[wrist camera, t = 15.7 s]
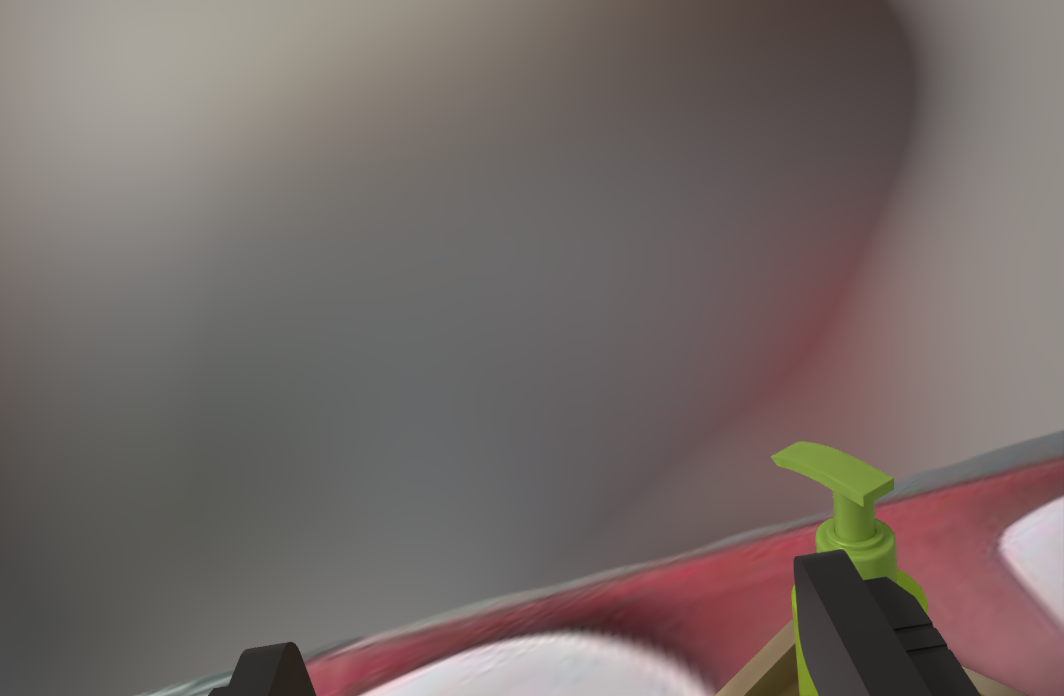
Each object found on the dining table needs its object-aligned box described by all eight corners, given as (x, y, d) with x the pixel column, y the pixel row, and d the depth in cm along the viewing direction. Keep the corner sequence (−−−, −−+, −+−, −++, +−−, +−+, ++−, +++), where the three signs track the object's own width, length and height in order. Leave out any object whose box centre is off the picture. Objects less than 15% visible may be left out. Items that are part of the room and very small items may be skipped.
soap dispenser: (844, 720, 49) (828, 416, 41) (954, 804, 43) (958, 469, 35) (769, 775, 46) (737, 464, 39) (874, 872, 41) (860, 528, 33)
